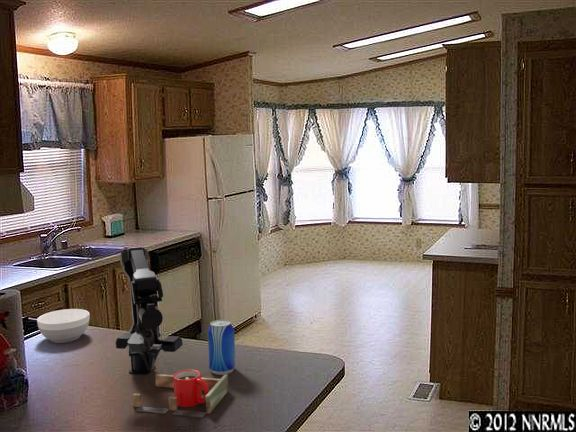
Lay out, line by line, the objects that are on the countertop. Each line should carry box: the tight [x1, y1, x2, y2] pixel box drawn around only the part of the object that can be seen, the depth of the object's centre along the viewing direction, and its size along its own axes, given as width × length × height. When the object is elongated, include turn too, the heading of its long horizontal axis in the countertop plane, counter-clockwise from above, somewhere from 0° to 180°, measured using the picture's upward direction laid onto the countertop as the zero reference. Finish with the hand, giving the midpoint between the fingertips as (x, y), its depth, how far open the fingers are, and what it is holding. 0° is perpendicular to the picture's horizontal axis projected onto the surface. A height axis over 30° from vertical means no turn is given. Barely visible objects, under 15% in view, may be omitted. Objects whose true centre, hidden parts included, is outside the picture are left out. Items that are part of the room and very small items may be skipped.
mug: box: [173, 369, 210, 408], centre depth 171 cm, size 8×12×8 cm, turn 58°
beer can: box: [207, 319, 236, 376], centre depth 193 cm, size 8×8×16 cm
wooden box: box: [132, 373, 229, 418], centre depth 173 cm, size 23×18×5 cm
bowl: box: [36, 308, 90, 344], centre depth 229 cm, size 19×19×9 cm
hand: (150, 370), depth 175 cm, fingers closed
